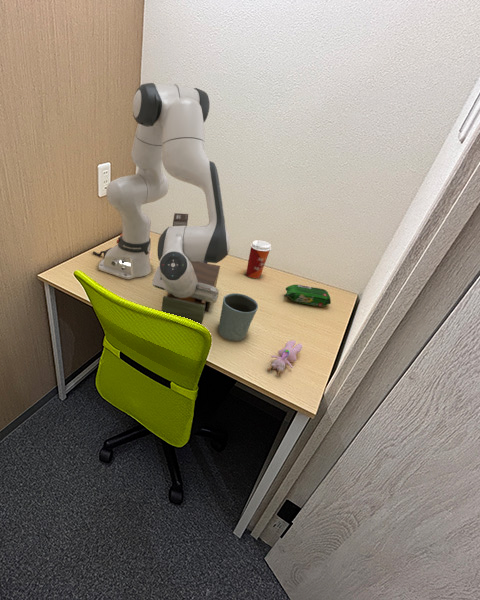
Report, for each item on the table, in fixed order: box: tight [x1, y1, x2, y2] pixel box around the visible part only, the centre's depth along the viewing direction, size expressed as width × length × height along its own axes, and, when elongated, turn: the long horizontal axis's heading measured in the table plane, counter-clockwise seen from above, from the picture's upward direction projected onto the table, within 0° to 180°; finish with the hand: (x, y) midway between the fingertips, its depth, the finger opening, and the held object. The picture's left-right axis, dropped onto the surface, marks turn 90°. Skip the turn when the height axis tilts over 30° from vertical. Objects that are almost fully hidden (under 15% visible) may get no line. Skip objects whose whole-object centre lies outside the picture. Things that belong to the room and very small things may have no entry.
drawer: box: [161, 292, 207, 325], centre depth 112 cm, size 19×13×9 cm
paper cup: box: [245, 239, 272, 279], centre depth 135 cm, size 8×8×14 cm
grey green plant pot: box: [217, 292, 259, 342], centre depth 105 cm, size 10×10×12 cm
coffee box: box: [172, 212, 189, 226], centre depth 154 cm, size 9×6×16 cm
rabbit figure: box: [267, 340, 303, 377], centre depth 96 cm, size 6×6×15 cm
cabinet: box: [190, 261, 221, 313], centre depth 123 cm, size 16×15×11 cm
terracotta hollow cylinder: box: [178, 297, 195, 303], centre depth 112 cm, size 6×6×7 cm
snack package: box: [284, 284, 332, 307], centre depth 122 cm, size 7×16×5 cm, turn 70°
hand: (187, 293), depth 111 cm, fingers closed on terracotta hollow cylinder, 5 cm apart
